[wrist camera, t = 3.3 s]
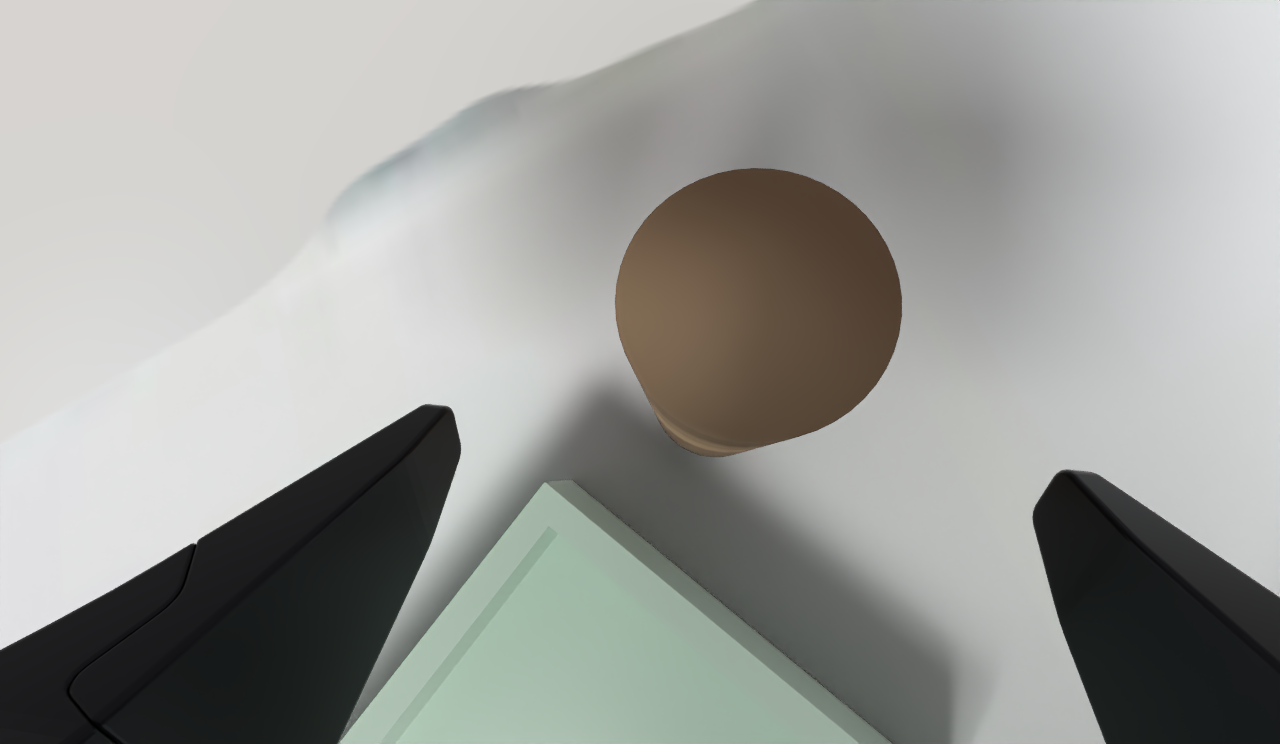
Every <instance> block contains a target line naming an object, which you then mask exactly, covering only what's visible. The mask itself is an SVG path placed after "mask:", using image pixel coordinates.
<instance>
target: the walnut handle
mask: <svg viewBox="0 0 1280 744" xmlns="http://www.w3.org/2000/svg"><path fill="white" fill-rule="evenodd" d="M615 308H616V321H617V327H618V332H619V337H620V340H621V343H622V346H623V349H624V352H625V354H626V356H627V358H628V360H629V362H630V364H631V367H632V369H633V371H634V373H635V375H636V377H637V379H638V380H639V382H640V384H641V386H642V388H643V390H644V392H645V394H646V396H647V398H648V400H649V402H650V404H651V406H652V408H653V410H654V412H655V414H656V416H657V418H658V420H659V422H660V424H661V426H662V427H663V429H664V430H665V432H666V433H667V434H668V435H669V437H670V438H671V439H672V440H674V441H675V442H676V443H677V444H678V445H680V446H681V447H683V448H684V449H686V450H688V451H690V452H693V453H696V454H698V455H703V456H708V457H724V456H729V455H734V454H737V453H741V452H745V451H748V450H752V449H755V448H759V447H763V446H766V445H770V444H774V443H777V442H781V441H784V440H788V439H792V438H795V437H799V436H802V435H805V434H808V433H811V432H814V431H817V430H819V429H821V428H823V427H825V426H827V425H829V424H831V423H833V422H835V421H836V420H838V419H839V418H841V417H842V416H844V415H845V414H847V413H848V412H850V411H851V410H852V409H853V408H854V407H855V406H856V405H858V404H859V403H860V402H861V401H862V400H863V399H864V398H865V397H866V396H867V395H868V394H869V392H870V391H871V390H872V389H873V388H874V386H875V385H876V384H877V383H878V381H879V379H880V378H881V376H882V375H883V373H884V371H885V370H886V368H887V366H888V364H889V362H890V359H891V357H892V355H893V353H894V350H895V346H896V343H897V340H898V336H899V331H900V324H901V317H902V296H901V289H900V282H899V277H898V273H897V270H896V266H895V263H894V260H893V258H892V256H891V253H890V251H889V249H888V247H887V245H886V243H885V241H884V240H883V238H882V236H881V235H880V233H879V231H878V230H877V229H876V227H875V226H874V225H873V224H872V222H871V221H870V220H869V219H868V217H867V216H866V215H865V214H864V213H863V212H862V211H861V210H860V209H859V208H858V207H857V206H855V205H854V204H853V203H852V202H851V201H849V200H848V199H847V198H845V197H844V196H843V195H841V194H840V193H839V192H837V191H835V190H833V189H832V188H830V187H828V186H826V185H825V184H823V183H821V182H818V181H816V180H813V179H811V178H808V177H806V176H803V175H799V174H795V173H792V172H788V171H781V170H775V169H758V168H750V169H739V170H732V171H727V172H722V173H718V174H715V175H712V176H709V177H706V178H703V179H700V180H698V181H696V182H694V183H692V184H690V185H688V186H686V187H684V188H682V189H681V190H679V191H678V192H676V193H675V194H673V195H671V196H670V197H669V198H667V199H666V200H665V201H664V202H663V203H662V204H660V205H659V206H658V207H657V208H656V209H655V210H654V211H653V212H652V213H651V214H650V215H649V216H648V217H647V219H646V220H645V221H644V222H643V224H642V225H641V226H640V228H639V229H638V231H637V232H636V233H635V235H634V237H633V239H632V241H631V242H630V244H629V246H628V248H627V250H626V253H625V255H624V258H623V261H622V264H621V266H620V271H619V275H618V280H617V285H616V297H615Z"/></svg>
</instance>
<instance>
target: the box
mask: <svg viewBox="0 0 1280 744" xmlns="http://www.w3.org/2000/svg"><path fill="white" fill-rule="evenodd" d="M339 744H892V743H891V742H890V741H889V740H887V739H886V738H885V737H884V736H883V735H881V734H880V733H879V732H878V731H876V730H875V729H874V728H873V727H872V726H870V725H869V724H868V723H867V722H866V721H864V720H863V719H862V718H861V717H859V716H858V715H857V714H856V713H855V712H853V711H852V710H851V709H850V708H849V707H847V706H846V705H845V704H844V703H842V702H841V701H840V700H839V699H838V698H836V697H835V696H834V695H833V694H831V693H830V692H829V691H828V690H827V689H825V688H824V687H823V686H822V685H821V684H819V683H818V682H817V681H816V680H814V679H813V678H812V677H811V676H810V675H808V674H807V673H806V672H805V671H804V670H802V669H801V668H800V667H799V666H797V665H796V664H795V663H794V662H793V661H791V660H790V659H789V658H788V657H786V656H785V655H784V654H783V653H782V652H780V651H779V650H778V649H777V648H776V647H774V646H773V645H772V644H771V643H769V642H768V641H767V640H766V639H765V638H763V637H762V636H761V635H760V634H758V633H757V632H756V631H755V630H754V629H752V628H751V627H750V626H749V625H748V624H746V623H745V622H744V621H743V620H741V619H740V618H739V617H738V616H737V615H735V614H734V613H733V612H732V611H731V610H729V609H728V608H727V607H726V606H724V605H723V604H722V603H721V602H720V601H718V600H717V599H716V598H715V597H713V596H712V595H711V594H710V593H709V592H707V591H706V590H705V589H704V588H703V587H701V586H700V585H699V584H698V583H696V582H695V581H694V580H693V579H692V578H690V577H689V576H688V575H687V574H686V573H684V572H683V571H682V570H681V569H679V568H678V567H677V566H676V565H675V564H673V563H672V562H671V561H670V560H668V559H667V558H666V557H665V556H664V555H662V554H661V553H660V552H659V551H658V550H656V549H655V548H654V547H653V546H651V545H650V544H649V543H648V542H647V541H645V540H644V539H643V538H642V537H641V536H639V535H638V534H637V533H636V532H634V531H633V530H632V529H631V528H630V527H628V526H627V525H626V524H625V523H623V522H622V521H621V520H620V519H619V518H617V517H616V516H615V515H614V514H613V513H611V512H610V511H609V510H608V509H606V508H605V507H604V506H603V505H602V504H600V503H599V502H598V501H597V500H596V499H594V498H593V497H592V496H591V495H589V494H588V493H587V492H586V491H585V490H583V489H582V488H581V487H580V486H578V485H577V484H576V483H575V482H574V481H572V480H571V479H569V480H558V481H548V482H544V483H543V484H542V486H541V487H540V488H539V490H538V491H537V492H536V493H535V495H534V496H533V497H532V498H531V500H530V501H529V502H528V504H527V505H526V506H525V507H524V509H523V510H522V511H521V512H520V514H519V515H518V516H517V518H516V519H515V520H514V521H513V523H512V524H511V525H510V526H509V528H508V529H507V530H506V532H505V533H504V534H503V535H502V537H501V538H500V539H499V540H498V542H497V543H496V544H495V546H494V547H493V548H492V549H491V551H490V552H489V553H488V554H487V556H486V557H485V558H484V559H483V561H482V562H481V563H480V565H479V566H478V567H477V568H476V570H475V571H474V572H473V573H472V575H471V576H470V577H469V579H468V580H467V581H466V582H465V584H464V585H463V586H462V587H461V589H460V590H459V591H458V593H457V594H456V595H455V596H454V598H453V599H452V600H451V601H450V603H449V604H448V605H447V607H446V608H445V609H444V610H443V612H442V613H441V614H440V615H439V617H438V618H437V619H436V621H435V622H434V623H433V624H432V626H431V627H430V628H429V629H428V631H427V632H426V633H425V635H424V636H423V637H422V638H421V640H420V641H419V642H418V643H417V645H416V646H415V647H414V649H413V650H412V651H411V652H410V654H409V655H408V656H407V657H406V659H405V660H404V661H403V662H402V664H401V665H400V666H399V668H398V669H397V670H396V671H395V673H394V674H393V675H392V676H391V678H390V679H389V680H388V682H387V683H386V684H385V685H384V687H383V688H382V689H381V690H380V692H379V693H378V694H377V696H376V697H375V698H374V699H373V701H372V702H371V703H370V704H369V706H368V707H367V708H366V710H365V711H364V712H363V713H362V715H361V716H360V717H359V718H358V720H357V721H356V722H355V724H354V725H353V726H352V727H351V729H350V730H349V731H348V732H347V734H346V735H345V736H344V738H343V739H342V740H341V741H340V743H339Z"/></svg>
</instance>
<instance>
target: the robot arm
mask: <svg viewBox="0 0 1280 744" xmlns="http://www.w3.org/2000/svg"><path fill="white" fill-rule="evenodd" d="M460 454H461V443H460V439H459V434H458V430H457V425H456V421H455V417H454V413H453V411H452V409H451V408H450V407H448V406H442V405H432V404H425V405H422V406H420V407H418V408H417V409H415V410H413V411H412V412H410V413H408V414H407V415H405V416H403V417H402V418H400V419H398V420H397V421H395V422H393V423H392V424H390V425H388V426H387V427H385V428H383V429H382V430H380V431H378V432H377V433H375V434H373V435H372V436H370V437H368V438H367V439H365V440H363V441H362V442H360V443H358V444H357V445H355V446H353V447H352V448H350V449H348V450H347V451H345V452H343V453H342V454H340V455H338V456H337V457H335V458H333V459H332V460H330V461H328V462H327V463H325V464H323V465H322V466H320V467H318V468H317V469H315V470H313V471H312V472H310V473H309V474H307V475H305V476H304V477H302V478H300V479H299V480H297V481H295V482H294V483H292V484H290V485H289V486H287V487H285V488H284V489H282V490H280V491H279V492H277V493H275V494H274V495H272V496H270V497H269V498H267V499H265V500H264V501H262V502H260V503H259V504H257V505H255V506H254V507H252V508H250V509H249V510H247V511H245V512H244V513H242V514H240V515H239V516H237V517H235V518H234V519H232V520H230V521H229V522H227V523H225V524H224V525H222V526H220V527H219V528H217V529H215V530H214V531H212V532H210V533H209V534H207V535H205V536H204V537H202V538H200V539H199V540H198V542H197V544H194V543H193V544H190V545H188V546H187V547H185V548H183V549H182V550H180V551H178V552H177V553H175V554H173V555H172V556H170V557H168V558H167V559H165V560H163V561H162V562H160V563H158V564H157V565H155V566H153V567H151V568H150V569H148V570H146V571H144V572H143V573H141V574H139V575H138V576H136V577H134V578H132V579H131V580H129V581H127V582H125V583H124V584H122V585H120V586H119V587H117V588H115V589H113V590H112V591H110V592H108V593H106V594H104V595H102V596H101V597H99V598H97V599H95V600H93V601H91V602H90V603H88V604H86V605H84V606H82V607H80V608H79V609H77V610H75V611H73V612H71V613H69V614H68V615H66V616H64V617H62V618H60V619H58V620H56V621H55V622H53V623H51V624H49V625H47V626H45V627H43V628H41V629H39V630H38V631H36V632H34V633H32V634H30V635H28V636H26V637H24V638H22V639H20V640H19V641H17V642H15V643H13V644H11V645H9V646H7V647H5V648H3V649H2V650H0V744H338V741H339V739H340V737H341V735H342V733H343V731H344V729H345V727H346V724H347V722H348V720H349V718H350V716H351V714H352V712H353V709H354V707H355V705H356V703H357V701H358V699H359V697H360V694H361V692H362V690H363V688H364V686H365V684H366V682H367V680H368V677H369V675H370V673H371V671H372V669H373V667H374V665H375V662H376V660H377V658H378V656H379V654H380V652H381V650H382V647H383V645H384V643H385V641H386V639H387V637H388V635H389V633H390V630H391V628H392V626H393V624H394V622H395V620H396V618H397V615H398V613H399V611H400V609H401V607H402V605H403V603H404V601H405V598H406V596H407V594H408V592H409V590H410V588H411V586H412V583H413V581H414V579H415V577H416V575H417V573H418V571H419V568H420V566H421V564H422V562H423V560H424V558H425V555H426V553H427V551H428V549H429V546H430V544H431V541H432V539H433V536H434V533H435V530H436V528H437V525H438V522H439V519H440V516H441V513H442V510H443V507H444V504H445V501H446V498H447V495H448V492H449V489H450V486H451V483H452V480H453V477H454V474H455V471H456V468H457V465H458V462H459V459H460ZM1033 525H1034V529H1035V533H1036V537H1037V540H1038V544H1039V548H1040V552H1041V555H1042V559H1043V563H1044V567H1045V571H1046V574H1047V578H1048V582H1049V586H1050V589H1051V593H1052V597H1053V601H1054V605H1055V608H1056V611H1057V615H1058V618H1059V621H1060V624H1061V627H1062V630H1063V633H1064V636H1065V638H1066V641H1067V644H1068V646H1069V649H1070V652H1071V654H1072V657H1073V659H1074V662H1075V665H1076V667H1077V670H1078V672H1079V675H1080V678H1081V680H1082V683H1083V685H1084V688H1085V691H1086V693H1087V696H1088V698H1089V701H1090V703H1091V706H1092V709H1093V711H1094V714H1095V716H1096V719H1097V722H1098V724H1099V727H1100V729H1101V732H1102V735H1103V737H1104V740H1105V742H1106V744H1280V597H1278V596H1277V595H1276V594H1274V593H1273V592H1271V591H1270V590H1268V589H1267V588H1265V587H1264V586H1262V585H1261V584H1259V583H1258V582H1256V581H1255V580H1253V579H1252V578H1250V577H1249V576H1247V575H1246V574H1244V573H1243V572H1242V571H1240V570H1239V569H1237V568H1236V567H1234V566H1233V565H1231V564H1230V563H1228V562H1227V561H1225V560H1224V559H1222V558H1221V557H1219V556H1218V555H1216V554H1215V553H1213V552H1212V551H1210V550H1209V549H1208V548H1206V547H1205V546H1203V545H1202V544H1200V543H1199V542H1197V541H1196V540H1194V539H1193V538H1191V537H1190V536H1188V535H1187V534H1185V533H1184V532H1182V531H1181V530H1179V529H1178V528H1176V527H1175V526H1174V525H1172V524H1171V523H1169V522H1168V521H1166V520H1165V519H1163V518H1162V517H1160V516H1159V515H1157V514H1156V513H1154V512H1153V511H1151V510H1150V509H1148V508H1147V507H1145V506H1144V505H1143V504H1141V503H1140V502H1138V501H1137V500H1135V499H1134V498H1132V497H1131V496H1129V495H1128V494H1126V493H1125V492H1123V491H1122V490H1120V489H1119V488H1117V487H1116V486H1114V485H1113V484H1111V483H1110V482H1109V481H1107V480H1106V479H1104V478H1103V477H1101V476H1100V475H1098V474H1095V473H1092V472H1086V471H1076V470H1062V471H1060V472H1058V473H1057V474H1056V475H1055V476H1054V477H1053V479H1052V481H1051V482H1050V484H1049V485H1048V487H1047V488H1046V490H1045V491H1044V493H1043V494H1042V496H1041V497H1040V499H1039V501H1038V502H1037V504H1036V505H1035V507H1034V511H1033Z"/></svg>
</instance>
